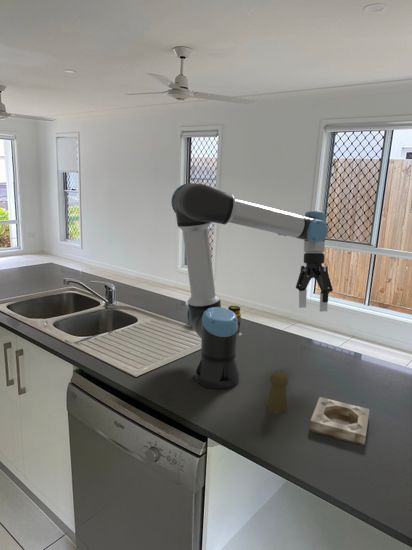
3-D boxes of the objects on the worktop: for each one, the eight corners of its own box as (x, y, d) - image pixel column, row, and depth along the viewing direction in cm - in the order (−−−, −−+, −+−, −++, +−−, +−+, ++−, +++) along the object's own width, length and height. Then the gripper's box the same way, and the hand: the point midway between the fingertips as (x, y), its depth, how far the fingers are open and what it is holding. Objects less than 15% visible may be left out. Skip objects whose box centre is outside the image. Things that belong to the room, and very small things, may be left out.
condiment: (242, 335, 175) (244, 309, 172) (224, 336, 173) (225, 310, 171) (237, 329, 182) (239, 304, 179) (219, 330, 180) (220, 304, 177)
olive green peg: (287, 414, 116) (290, 379, 113) (266, 411, 117) (268, 377, 114) (287, 403, 121) (290, 370, 119) (267, 400, 123) (269, 367, 120)
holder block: (309, 430, 108) (310, 420, 108) (318, 405, 121) (319, 396, 120) (364, 446, 103) (365, 435, 102) (368, 418, 115) (369, 409, 114)
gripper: (344, 252, 139) (342, 313, 140) (304, 254, 163) (302, 305, 163) (326, 251, 137) (324, 313, 137) (288, 253, 161) (286, 306, 161)
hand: (312, 309), depth 150 cm, fingers open, 13 cm apart
